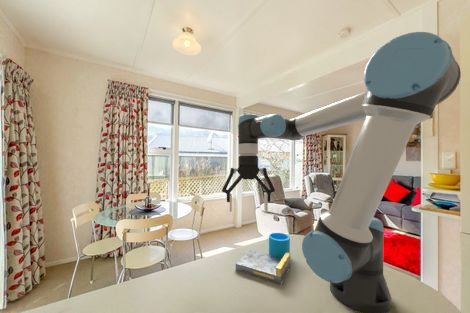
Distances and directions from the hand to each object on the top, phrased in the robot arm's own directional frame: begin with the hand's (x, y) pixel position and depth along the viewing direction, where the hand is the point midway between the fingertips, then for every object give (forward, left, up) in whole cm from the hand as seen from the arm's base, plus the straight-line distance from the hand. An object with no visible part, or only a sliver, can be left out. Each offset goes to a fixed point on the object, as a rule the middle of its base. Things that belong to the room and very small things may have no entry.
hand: (248, 210), depth 78 cm
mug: (-8, -11, -20) cm, 24 cm away
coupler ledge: (-7, +2, -19) cm, 21 cm away
